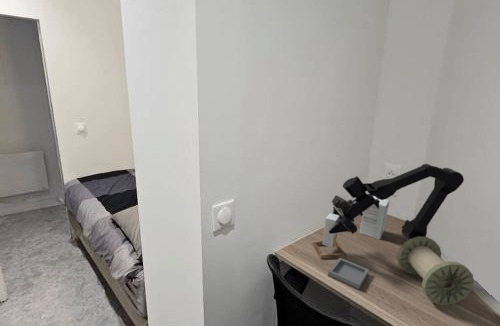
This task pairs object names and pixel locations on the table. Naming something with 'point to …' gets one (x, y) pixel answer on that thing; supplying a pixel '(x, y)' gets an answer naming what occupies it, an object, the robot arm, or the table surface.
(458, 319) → the table surface
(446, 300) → the spool
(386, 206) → the supplement box
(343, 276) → the cradle tray
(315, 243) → the open wooden picture frame
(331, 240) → the skincare box
